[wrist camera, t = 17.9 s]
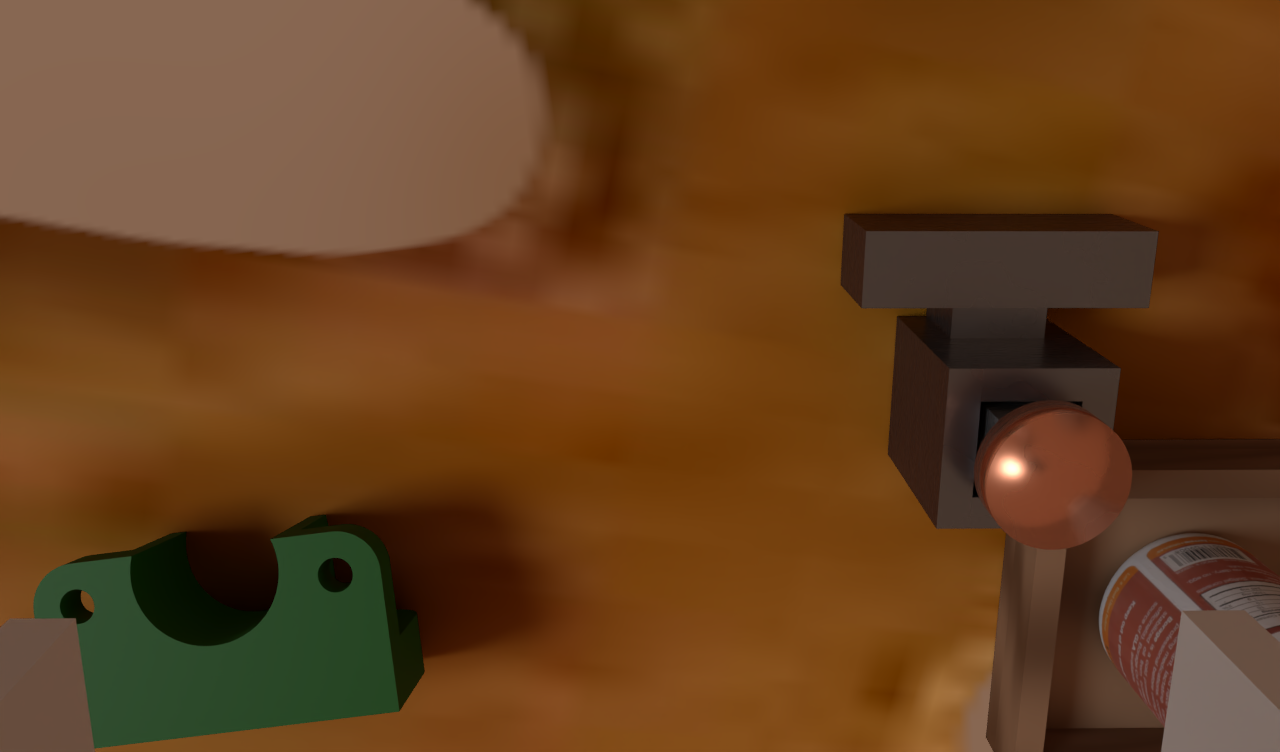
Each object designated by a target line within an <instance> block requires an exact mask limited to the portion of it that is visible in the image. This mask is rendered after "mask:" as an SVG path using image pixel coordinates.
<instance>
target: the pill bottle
mask: <svg viewBox="0 0 1280 752" xmlns="http://www.w3.org/2000/svg"><path fill="white" fill-rule="evenodd" d="M1207 610H1245V611H1246V612H1247V613H1248V614H1249V615H1251V616H1252V617H1253V618H1254V619H1255V620H1256V621H1257V622H1258V623H1259V624H1260V625H1261V626H1263V627H1264V628H1265V629H1266V630H1267V631H1268V632H1269V633H1270V634H1271V635H1272V636H1273V637H1275V638H1276V639H1277V640H1278V641H1279V642H1280V577H1279V576H1278V575H1277V574H1276V573H1274V572H1273V571H1272V570H1271V569H1269V568H1268V567H1267V566H1266V565H1264V564H1263V563H1262V562H1261V561H1260V560H1258V559H1257V558H1256V557H1255V556H1253V555H1252V554H1251V553H1249V552H1248V551H1246V550H1245V549H1243V548H1242V547H1241V546H1239V545H1237V544H1235V543H1233V542H1231V541H1229V540H1227V539H1224V538H1221V537H1218V536H1214V535H1209V534H1202V533H1185V534H1177V535H1172V536H1168V537H1165V538H1161V539H1158V540H1156V541H1154V542H1152V543H1150V544H1148V545H1146V546H1145V547H1143V548H1142V549H1140V550H1139V551H1137V552H1136V553H1134V554H1133V555H1132V556H1131V557H1130V558H1128V559H1127V560H1126V561H1125V562H1124V563H1123V564H1122V565H1121V566H1120V568H1119V569H1118V570H1117V572H1116V573H1115V574H1114V576H1113V577H1112V579H1111V581H1110V582H1109V584H1108V586H1107V588H1106V590H1105V593H1104V596H1103V599H1102V602H1101V606H1100V611H1099V631H1100V636H1101V640H1102V643H1103V646H1104V649H1105V651H1106V653H1107V655H1108V656H1109V658H1110V660H1111V661H1112V663H1113V664H1114V665H1115V667H1116V668H1117V670H1118V671H1119V672H1120V674H1121V675H1122V676H1123V677H1124V678H1125V680H1126V681H1127V682H1128V683H1129V685H1130V686H1131V687H1132V688H1133V689H1134V691H1135V692H1136V693H1137V694H1138V695H1139V697H1140V698H1141V699H1142V700H1143V702H1144V703H1145V704H1146V705H1147V706H1148V708H1149V709H1150V710H1151V711H1152V712H1153V714H1154V715H1155V716H1156V718H1157V719H1158V720H1159V721H1160V723H1161V724H1162V725H1163V726H1164V727H1165V721H1166V714H1167V708H1168V701H1169V694H1170V687H1171V680H1172V674H1173V667H1174V660H1175V653H1176V647H1177V640H1178V633H1179V626H1180V620H1181V613H1182V611H1207Z"/></svg>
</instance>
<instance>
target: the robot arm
mask: <svg viewBox="0 0 1280 752" xmlns="http://www.w3.org/2000/svg"><path fill="white" fill-rule="evenodd" d="M0 752H95V750H94V743H93V736H92V729H91V722H90V715H89V708H88V701H87V694H86V687H85V680H84V673H83V667H82V660H81V653H80V646H79V639H78V632H77V625H76V618H54V619H9V620H8V621H7V622H6V623H5V624H4V625H3V626H2V627H1V628H0ZM1161 752H1280V642H1279V641H1278V640H1277V639H1276V638H1275V637H1273V636H1272V635H1271V634H1270V633H1269V632H1268V631H1267V630H1266V629H1265V628H1264V627H1263V626H1261V625H1260V624H1259V623H1258V622H1257V621H1256V620H1255V619H1254V618H1253V617H1252V616H1251V615H1249V614H1248V613H1247V612H1246V611H1245V610H1207V611H1182V613H1181V620H1180V626H1179V633H1178V640H1177V647H1176V653H1175V660H1174V667H1173V674H1172V680H1171V687H1170V694H1169V701H1168V708H1167V714H1166V721H1165V728H1164V735H1163V741H1162V748H1161Z"/></svg>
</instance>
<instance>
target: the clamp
mask: <svg viewBox="0 0 1280 752" xmlns="http://www.w3.org/2000/svg"><path fill="white" fill-rule="evenodd" d="M270 540H271V542H272V544H273V546H274V549H275V552H276V556H277V560H278V568H279V579H278V587H277V591H276V595H275V598H274V601H273V603H272V605H271V607H270V609H269V610H264V611H255V612H254V611H242V610H237V609H233V608H231V607H228V606H226V605H224V604H222V603H220V602H218V601H217V600H215V599H214V598H212V597H211V596H210V595H209V594H208V593H207V592H206V591H205V590H204V589H203V588H202V587H201V586H200V585H199V583H198V582H197V580H196V579H195V577H194V575H193V573H192V571H191V568H190V566H189V562H188V558H187V552H186V532H180V533H172V534H169V535H167V536H164V537H162V538H160V539H157V540H155V541H153V542H150V543H148V544H146V545H144V546H141V547H139V548H137V549H134V550H130V551H121V552H113V553H105V554H97V555H90V556H85V557H82V558H80V559H77V560H75V561H72V562H70V563H67V564H65V565H62V566H60V567H58V568H56V569H54V570H52V571H51V572H50V573H48V574H47V575H46V576H45V577H44V578H43V580H42V581H41V582H40V584H39V586H38V588H37V590H36V593H35V597H34V616H35V619H54V618H76V625H77V632H78V639H79V646H80V653H81V660H82V667H83V673H84V680H85V687H86V694H87V701H88V708H89V715H90V722H91V729H92V736H93V743H94V748H102V747H110V746H118V745H127V744H135V743H143V742H151V741H160V740H168V739H176V738H184V737H193V736H201V735H209V734H217V733H226V732H234V731H242V730H250V729H259V728H267V727H275V726H283V725H292V724H300V723H308V722H316V721H325V720H333V719H341V718H349V717H358V716H366V715H374V714H382V713H391V712H399V711H400V710H401V708H402V707H403V705H404V703H405V702H406V700H407V699H408V697H409V696H410V694H411V693H412V691H413V689H414V688H415V686H416V685H417V683H418V682H419V680H420V678H421V677H422V675H423V674H424V671H425V670H424V663H423V655H422V648H421V640H420V633H419V625H418V618H417V612H415V611H413V610H405V609H399V610H396V603H395V596H394V588H393V581H392V573H391V566H390V559H389V555H388V552H387V549H386V547H385V545H384V544H383V542H382V541H381V540H380V539H379V537H378V536H377V535H375V534H374V533H373V532H372V531H370V530H368V529H366V528H364V527H362V526H358V525H353V524H341V525H333V526H328V523H327V518H326V515H318V516H310V517H309V518H307V519H305V520H303V521H301V522H300V523H298V524H296V525H294V526H293V527H291V528H289V529H287V530H286V531H284V532H282V533H280V534H279V535H277V536H275V537H273V538H271V539H270ZM333 558H340V559H343V560H345V561H346V562H347V563H348V564H349V565H350V567H351V569H352V572H353V578H352V582H351V583H342V582H339V581H338V580H336V579H335V572H334V565H333ZM82 590H83V591H85V592H87V593H88V594H89V595H90V596H91V597H92V599H93V601H94V605H95V609H94V613H92V612H90V611H88V610H87V609H86V608H85V607H84V606H83V604H82V602H81V591H82Z"/></svg>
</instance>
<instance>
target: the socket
mask: <svg viewBox="0 0 1280 752" xmlns="http://www.w3.org/2000/svg"><path fill="white" fill-rule="evenodd" d="M1158 232H1159V231H1156V230H1153V229H1151V228H1148V227H1145V226H1142V225H1140V224H1137V223H1134V222H1132V221H1129V220H1126V219H1124V218H1121V217H1118V216H1115V215H1113V214H844V231H843V250H842V268H841V286H842V287H843V288H844V289H845V290H846V291H847V292H848V293H849V295H850V296H851V297H852V298H853V299H854V300H855V301H856V302H857V303H858V305H859V306H860V307H861V308H927V314H926V316H897V327H896V342H895V357H894V371H893V386H892V401H891V416H890V431H889V445H888V455H889V457H890V458H891V460H892V461H893V463H894V464H895V466H896V467H897V469H898V470H899V472H900V473H901V475H902V476H903V478H904V480H905V481H906V483H907V484H908V486H909V487H910V489H911V490H912V492H913V493H914V495H915V496H916V498H917V499H918V501H919V503H920V504H921V506H922V507H923V509H924V510H925V512H926V513H927V515H928V516H929V518H930V519H931V521H932V522H933V524H934V526H935V527H936V529H939V528H1001V527H1000V526H999V525H998V524H997V522H996V521H995V520H994V518H993V517H992V516H991V515H990V513H989V512H988V511H987V510H986V508H985V507H984V505H983V504H982V502H981V500H980V498H979V496H978V494H977V490H976V487H975V481H974V465H975V459H976V450H977V439H978V428H979V417H980V406H981V402H1028V401H1044V400H1059V401H1065V402H1070V403H1073V404H1076V405H1079V406H1081V407H1083V408H1085V409H1086V410H1088V411H1089V412H1091V413H1092V414H1094V415H1095V416H1096V417H1097V418H1099V419H1100V420H1101V421H1102V422H1104V423H1105V424H1106V425H1107V426H1109V427H1110V428H1111V429H1112V430H1113V427H1114V419H1115V411H1116V403H1117V395H1118V387H1119V379H1120V371H1121V368H1119V367H1118V366H1116V365H1115V364H1113V363H1112V362H1110V361H1109V360H1107V359H1106V358H1104V357H1103V356H1101V355H1100V354H1098V353H1097V352H1095V351H1094V350H1092V349H1091V348H1089V347H1088V346H1086V345H1085V344H1083V343H1082V342H1080V341H1079V340H1077V339H1076V338H1074V337H1073V336H1071V335H1070V334H1068V333H1067V332H1065V331H1064V330H1062V329H1061V328H1059V327H1058V326H1056V325H1055V324H1053V323H1052V322H1050V321H1049V320H1047V319H1046V316H1047V308H1149V302H1150V294H1151V286H1152V278H1153V271H1154V263H1155V255H1156V247H1157V239H1158Z"/></svg>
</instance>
